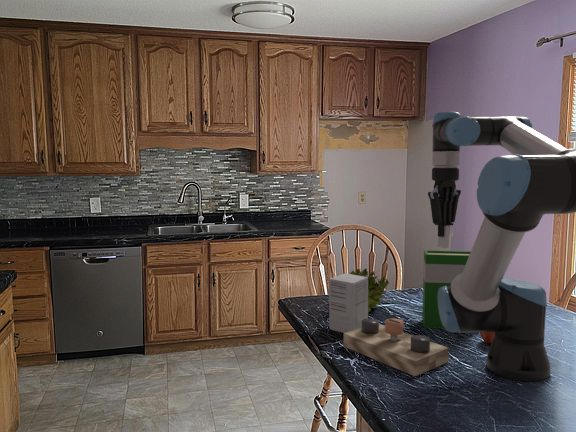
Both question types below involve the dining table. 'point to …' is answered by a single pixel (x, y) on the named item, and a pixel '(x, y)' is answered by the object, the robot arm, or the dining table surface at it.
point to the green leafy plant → (373, 287)
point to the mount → (396, 351)
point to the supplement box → (347, 302)
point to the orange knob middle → (394, 328)
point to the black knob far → (370, 326)
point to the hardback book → (439, 280)
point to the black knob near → (420, 344)
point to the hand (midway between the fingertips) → (443, 247)
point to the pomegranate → (488, 336)
